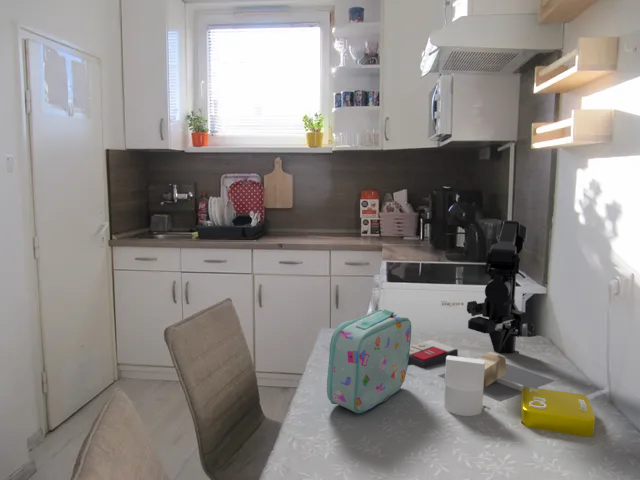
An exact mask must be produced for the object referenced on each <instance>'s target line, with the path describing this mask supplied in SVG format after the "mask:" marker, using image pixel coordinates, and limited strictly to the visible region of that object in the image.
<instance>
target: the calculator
mask: <svg viewBox="0 0 640 480" xmlns="http://www.w3.org/2000/svg"><path fill="white" fill-rule="evenodd" d="M458 353H459V352H458V349H457V348H455V347H453V346H450V345H446V344H444V343H441V342H438V341H435V340H432V339H429V340H426V341H423V342H419V343H416V344H412V345H410V352H409V360H408V366H413V365H414V366H417V367H420V368H423V369H426V368H429V367H432V366H433V367H434V366H436V365H439V364H442V363H446V357H447V356H448V355H449V356H457V357H459V355H458Z"/></svg>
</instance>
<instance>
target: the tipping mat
mask: <svg viewBox="0 0 640 480" xmlns="http://www.w3.org/2000/svg"><path fill="white" fill-rule="evenodd" d="M437 376H438V377H439V378H441V379H442V378H443V379H444V380H445V373H442V374H439V375H437ZM555 381H556V380H554V379H552V378H549V377H546V376H543V375H540V374H537V373H535V372H531V371H528V370H525V369H523V368H519V367H517V366H515V365H512V364H508V363H506V374H505V375H504V376H502V377H500V378H499V379H497V380H496V381H494V382H493V383H491V384H490V385H488V386H487V387H483V396H486V397H488V398H490V399H494V400H495V401H498V402H502V401H504V400H508V399H510V398H513V397H515V396H518V395H521V390H522V389H523V388H524V387H532V388H540V387H542V386H544V385H547V384H549V383H552V382H555Z"/></svg>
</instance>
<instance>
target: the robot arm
mask: <svg viewBox="0 0 640 480" xmlns="http://www.w3.org/2000/svg"><path fill="white" fill-rule="evenodd" d="M495 236H496V237H495V238H496V241H497V243H493V244H492V245H491V247H490V251H487V255H486V260H485V261H486V263H485V269H484V275H485V276H490V277H489V281H488V283H487V284H486V286H485V288H484V295H485V298H484V301H483V302H480V303H479V302H477V301H476V300H473V301H467V304H466V312H467V314H470V315H471V318H469V319H468V320H467V329H469V330H472V331H475V332H479V333H482V334H488V336H489V337H490V341H491V345H492V349H493V352H494V353H498V354H500V355H501V354H513V353H515V354H520V351H519V350H517V349H516V340H517V338H520V337H522V336H523V329H524V328H523V327H524V326H523V325H525V324H528V323H529V315H528V313H527V312H525V311H521V310H519V308H518V307H517V305H516V301H515V300H516V299H515V298H516V286H517V285H516V284H517V282H516V281H517V275H519V274H520V268H521V267H520V266H521V257H520V253H521V252H522V250H523V249H524V247H525V243H527V239H528V229H527V227H526V226H524V225H522V223H521V221H518V220H510V219H509V220H508V219H505V220H502V221H501V223H500V224H499V225H497V226H496V235H495ZM481 315H482V316H481ZM475 316H476V317H475Z"/></svg>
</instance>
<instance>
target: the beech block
mask: <svg viewBox="0 0 640 480" xmlns="http://www.w3.org/2000/svg"><path fill="white" fill-rule="evenodd" d="M477 359H481V360H485V371H484V387H487V386H488V385H490V384H491V383H493V382H494V381H496V380H497V379H499V378H500V377H502V376H504V375H505V374H506V364H507V362H506V356H504V355H501V354H499V353H498V354H497V353H496V352H492V351H488V352H487V353H485V354H483V355H481V356H480V357H478V358H477Z"/></svg>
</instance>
